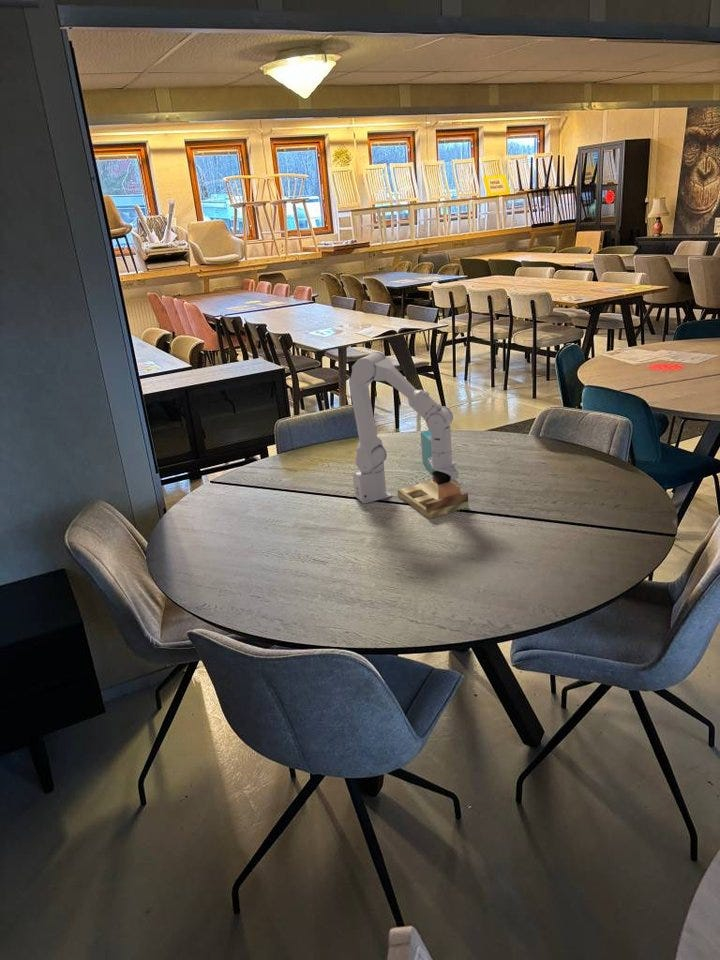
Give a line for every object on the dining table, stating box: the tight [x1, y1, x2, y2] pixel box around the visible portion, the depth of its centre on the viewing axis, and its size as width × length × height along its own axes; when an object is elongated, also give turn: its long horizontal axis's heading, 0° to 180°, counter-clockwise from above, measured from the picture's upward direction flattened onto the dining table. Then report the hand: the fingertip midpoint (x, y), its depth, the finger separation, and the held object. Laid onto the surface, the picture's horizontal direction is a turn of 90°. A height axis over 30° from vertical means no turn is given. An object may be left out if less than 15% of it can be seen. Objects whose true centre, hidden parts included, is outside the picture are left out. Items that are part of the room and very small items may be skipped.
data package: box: [420, 429, 436, 475], centre depth 223 cm, size 12×4×12 cm, turn 11°
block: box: [438, 480, 461, 499], centre depth 194 cm, size 4×4×4 cm
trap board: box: [397, 475, 469, 519], centre depth 199 cm, size 13×20×4 cm, turn 22°
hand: (444, 494), depth 197 cm, fingers closed, pressing on block
